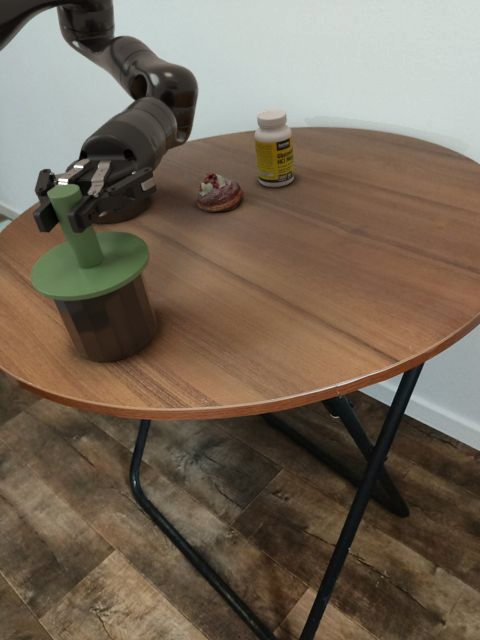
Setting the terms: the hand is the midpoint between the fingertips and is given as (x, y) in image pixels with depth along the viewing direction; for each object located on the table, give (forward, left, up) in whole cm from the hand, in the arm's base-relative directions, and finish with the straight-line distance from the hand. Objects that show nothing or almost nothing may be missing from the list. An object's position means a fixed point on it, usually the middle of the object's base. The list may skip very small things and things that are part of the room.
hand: (56, 224), depth 50 cm
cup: (0, +3, -16) cm, 16 cm away
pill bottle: (+12, +45, -16) cm, 49 cm away
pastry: (+4, +37, -16) cm, 40 cm away
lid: (0, +3, -7) cm, 7 cm away
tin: (-14, +35, -16) cm, 41 cm away
